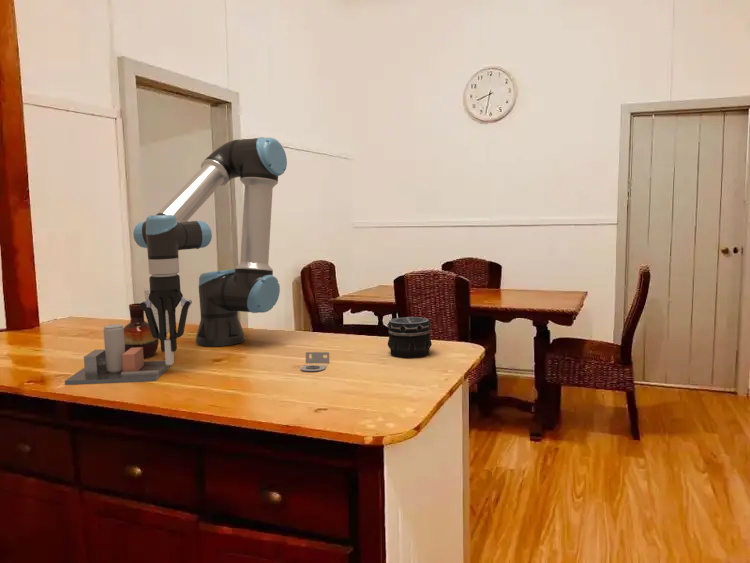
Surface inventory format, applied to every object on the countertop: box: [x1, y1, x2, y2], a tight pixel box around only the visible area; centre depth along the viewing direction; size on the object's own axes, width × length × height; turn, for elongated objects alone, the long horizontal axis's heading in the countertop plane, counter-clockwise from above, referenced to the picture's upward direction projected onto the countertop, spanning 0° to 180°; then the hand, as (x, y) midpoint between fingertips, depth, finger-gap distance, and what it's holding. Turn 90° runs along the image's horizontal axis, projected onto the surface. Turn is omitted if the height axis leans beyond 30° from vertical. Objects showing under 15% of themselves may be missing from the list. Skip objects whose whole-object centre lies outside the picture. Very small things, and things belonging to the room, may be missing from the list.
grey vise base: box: [64, 348, 172, 386], centre depth 165 cm, size 22×16×6 cm
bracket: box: [300, 351, 330, 372], centre depth 169 cm, size 7×10×4 cm, turn 174°
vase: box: [123, 302, 160, 359], centre depth 185 cm, size 11×11×15 cm
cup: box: [143, 287, 170, 334], centre depth 220 cm, size 8×8×16 cm
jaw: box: [122, 347, 145, 371], centre depth 165 cm, size 3×8×5 cm, turn 5°
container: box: [386, 316, 432, 359], centre depth 182 cm, size 13×13×10 cm
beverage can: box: [103, 323, 125, 373], centre depth 165 cm, size 5×5×12 cm
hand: (169, 363), depth 166 cm, fingers closed
